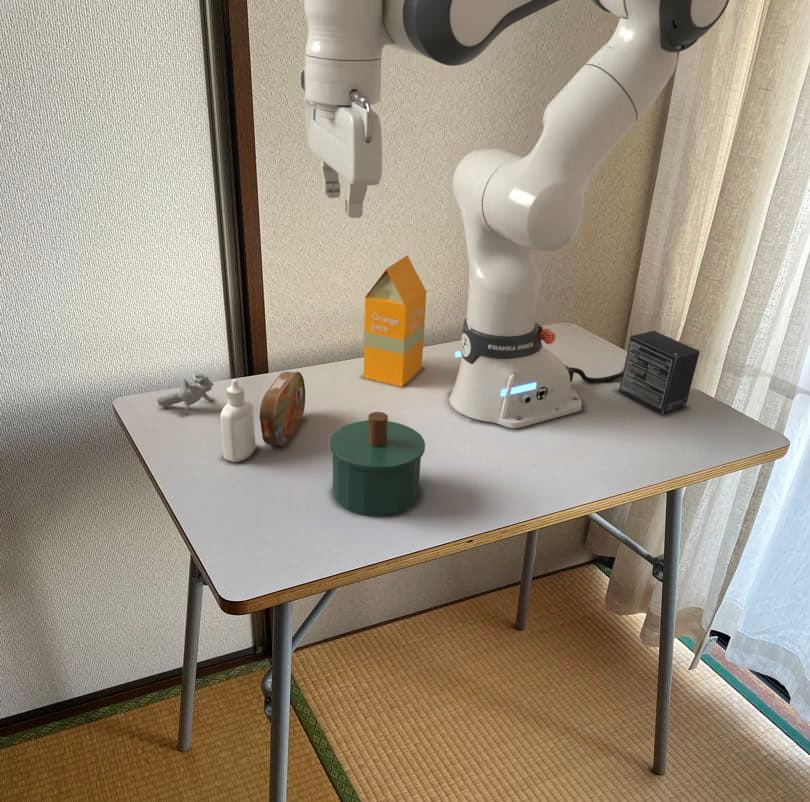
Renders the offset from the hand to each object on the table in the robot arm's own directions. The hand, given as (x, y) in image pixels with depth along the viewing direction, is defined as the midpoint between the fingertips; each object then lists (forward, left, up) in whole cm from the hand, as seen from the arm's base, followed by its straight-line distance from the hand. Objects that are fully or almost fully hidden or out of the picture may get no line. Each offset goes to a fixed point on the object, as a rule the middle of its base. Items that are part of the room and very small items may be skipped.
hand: (342, 206), depth 110 cm
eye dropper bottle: (+14, -5, -36) cm, 40 cm away
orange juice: (-18, -26, -36) cm, 48 cm away
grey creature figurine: (+19, -21, -36) cm, 46 cm away
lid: (-2, +11, -29) cm, 31 cm away
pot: (-2, +11, -36) cm, 38 cm away
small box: (-58, -4, -36) cm, 68 cm away
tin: (+6, -10, -36) cm, 38 cm away
